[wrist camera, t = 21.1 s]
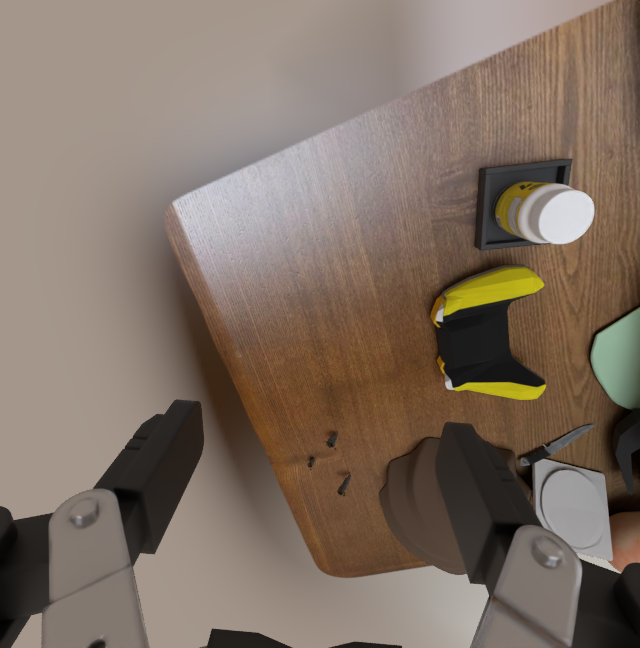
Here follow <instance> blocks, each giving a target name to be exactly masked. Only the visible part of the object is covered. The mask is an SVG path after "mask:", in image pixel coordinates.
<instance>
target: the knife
mask: <svg viewBox="0 0 640 648" xmlns="http://www.w3.org/2000/svg"><path fill="white" fill-rule="evenodd" d="M594 426H596V425H587V426H583V427H580V428H578V429H576V430H574V431H572V432H571V433H569V434H567V435H566V436H564V437H562V438H561V439H559V440H557V441H555V442H553V443H551V445H550V446H549V447H546V446H545V445H544V444H542V445H544V446H545V449H543V450H541V451H539V450H537V449H536V450H537V453H536V454H532V455H530V456H529V457H526V458H521V464H520V465H521V466H526V465H531V464H534V463H536V462H538V461H540V460H542V459H544V458H545V457H547V456H549V455H551V454H554V452H556V451H558V450H560V449H561V448H563V447H565V446H566V445H568V444H569V443H571V442H572V441H574V440H575V439H577V438H578V437H580V436H581V435H582V434H584V433H585V432H587V431H588V430H590V429H591V428H593V427H594ZM554 455H556V454H554ZM523 460H524V461H525V464H523Z"/></svg>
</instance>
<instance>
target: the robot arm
mask: <svg viewBox="0 0 640 648" xmlns="http://www.w3.org/2000/svg"><path fill="white" fill-rule="evenodd" d="M203 445H204V433H203V421H202V409H201V403H200V402H199V401H187V400H175V401H174V402H173V403H172V404H171V406H170V407H169V409H168V410H167V412H166V413H165V414H164V415H163V414H156V415H155V416H153V417H152V418H151V419H149V420H147V421H146V422H144V423H143V424H142V425H141V426H140V428H139V429H138V430H137V431H136V433H135V434H134V436H133V438H132V439H130V441H129V442H128V443H127V445H126V446H125V449H123V450H122V451H121V453H120V454H119V455H118V456H117V458H116V459H115V460H114V462H113V463H112V464H111V466H110V467H109V468H108V469H107V471H106V472H105V473H104V475H103V476H102V477H101V479H100V480H99V481H98V483H97V484H96V485H95V486H94V488H93V489H91V490H87V491H84V492H81V493H79V494H76V495H75V496H73V497H71V498H69V499H68V500H66V501H65V502H64V503H62V504H61V505H60V507H58V508H57V509H56V511H55V512H54V513H50V514H45V515H40V516H35V517H30V518H24V519H18V520H13V518H12V515H11V513H10V511H9V510H8V509H6V508H4V507H1V506H0V648H11V646H12V645H13V643H14V642H15V640H16V639H17V637H18V635H19V634H20V632H21V630H22V629H23V627H24V626H25V624H26V623H27V621H28V620H29V618H30V616H31V615H34V614H38V613H42V648H150V647H149V642H148V637H147V633H146V628H145V623H144V618H143V614H142V609H141V604H140V599H139V595H138V590H137V585H136V580H135V576H134V571H133V566H134V564H135V562H136V560H137V558H138V556H139V554H140V553H146V554H155V552H156V550H157V548H158V546H159V544H160V542H161V540H162V538H163V535H164V533H165V531H166V529H167V527H168V525H169V523H170V521H171V519H172V516H173V514H174V512H175V510H176V508H177V506H178V504H179V502H180V500H181V497H182V495H183V493H184V491H185V489H186V487H187V485H188V483H189V481H190V478H191V476H192V474H193V472H194V470H195V468H196V466H197V463H198V462H199V459H200V457H201V454H202V450H203ZM435 472H436V478H437V481H438V484H439V487H440V491H441V494H442V497H443V500H444V503H445V506H446V509H447V512H448V516H449V519H450V522H451V525H452V528H453V531H454V534H455V537H456V541H457V544H458V547H459V550H460V553H461V556H462V559H463V562H464V566H465V569H466V572H467V575H468V578H469V581H470V583H473V584H484V585H486V588H487V590H488V593H489V598H488V600H487V603H486V605H485V608H484V611H483V614H482V616H481V619H480V622H479V625H478V627H477V630H476V633H475V635H474V638H473V641H472V644H471V647H470V648H640V563H637V562H635V563H630V564H628V565H627V566H626V567H625V568H624V569H623V571H622V573H621V574H619V573H616V572H614V571H611V570H608V569H606V568H603V567H600V566H597V565H595V564H592V563H589V562H587V561H584V560H582V559H580V558H578V556H577V554H576V552H575V551H574V550H573V548H572V547H571V546H570V545H569V544H568V543H567V542H566V541H565V540H563V539H562V538H561V537H560V536H558V535H557V534H555V533H553V532H552V531H550V530H548V529H545V528H544V527H543V525H542V523H541V522H540V520H539V518H538V516H537V515H536V513H535V511H534V510H533V508H532V506H531V504H530V503H529V501H528V499H527V497H526V496H525V494H524V492H523V490H522V489H521V487H520V485H519V483H517V482H516V478H515V476H514V475H513V473H512V471H510V468H509V466H508V464H507V463H506V461H505V459H504V457H503V456H502V454H501V453H500V452H499V451H498V450H497V449H496V448H494V447H493V446H492V445H491V444H490V443H489V442H486V441H480V439H479V437H478V435H477V433H476V431H475V429H474V427H473V426H472V425H471V424H465V423H453V422H446V423H445V425H444V428H443V431H442V435H441V439H440V443H439V447H438V451H437V455H436V460H435ZM200 648H292V647H290V646H287V645H285V644H283V643H280V642H278V641H276V640H273V639H271V638H269V637H266V636H264V635H262V634H259V633H253V632H243V631H231V630H220V629H212V631H211V634H210V638H209V642H208V645H207V646H205V647H200ZM331 648H402V646H397V645H387V644H376V643H365V642H364V643H363V642H351V643H347V644H343V645H339V646H334V647H331Z"/></svg>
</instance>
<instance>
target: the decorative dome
mask: <svg viewBox="0 0 640 648" xmlns="http://www.w3.org/2000/svg"><path fill="white" fill-rule="evenodd" d="M478 437H479V436H478ZM479 439H480V441H484V440H483V439H482V438H480V437H479ZM439 443H440V439H434V438H426V439H424V440H423V441H422V442H421V443H420V444H419V446H418V447H417V448H416V449H415V450H414V451H413V452H412V453H411V454H409V455H406V456H404V457H401V458H398V459H396V460H393V461H391V462H390V463H389V468H388V482H387V484H386V485H385V486H384V488H383V489H382V491H381V492H380V494H379V495H380V501H381V505H382V509H383V512H384V515H385V518H386V521H387V523H388V525H389V527H390V529H391V531H392V533H393V534H394V536H395V537H396V538H397V540H398V541H399V542H400V543H401V544H402V545H403V546H404V547H405V548H406V549H407V550H408V551H409V552H410V553H412V554H413V555H414V556H416V557H417V558H419V559H421V560H422V561H424V562H426V563H428V564H431V565H433V566H435V567H437V568H439V569H441V570H443V571H446V572H448V573H451V574H455V575H463V574H467V572H466V569H465V566H464V562H463V559H462V556H461V553H460V550H459V547H458V544H457V541H456V537H455V534H454V531H453V528H452V525H451V522H450V519H449V516H448V512H447V509H446V506H445V503H444V500H443V497H442V494H441V491H440V487H439V484H438V481H437V478H436V472H435V460H436V455H437V451H438V447H439ZM496 449H497V450H498V451H499V452H500V453H501V454H502V456H503V457H504V459H505V461H506V463H507V464H508V466H509V468H510V471H512V473H513V475H514V476H515V478H516V482H517V483H519V485H520V487H521V489H522V490H523V492H524V494H525V496H526V497H527V499H528V501H529V499H530V496H531V489H530V487H529V486H528V485H527V484H526V482H525V481H524V480H523V479H522V478H521V477H520V476H519V475H518V474H517V472H516V469H515V454H514V453H513V452H512V451H507V450H503V449H498V448H496Z"/></svg>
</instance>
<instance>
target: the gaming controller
mask: <svg viewBox="0 0 640 648" xmlns="http://www.w3.org/2000/svg"><path fill="white" fill-rule="evenodd" d="M542 287H544V284H543V282H542V280H541V279H540V278H539V277H538V276H537V275H536V274H535V272H534V271H533V270H531V269H530V268H528V267H526V266H525V265H502V266H499V267H496V268H493V269H490V270H488V271H485V272H482V273H479V274H476V275H473V276H470V277H468V278H466V279H464V280H462V281H460V282H458V283H457V284H455V285H453V286H451V287H449V288H447V289H446V290H445V291H444V292H442V295H440V296H439V297H438V298H437V299H436V301H435V304H434V306H433V309H432V311H431V315H430V318H431V319H432V321H433V322H434V324H435V329H436V336H437V343H438V349H439V357H438V359H437V362H438V364H439V366H440V368H441V370H442V372H443V374H444V375H445V385H446V388H447V389H449V390H456V391H461V390H471V391H476V392H481V393H487V394H492V395H497V396H502V397H508V398H513V399H518V400H527V399H537V398H538V397H539V396H540V395H541V394H542V393H543V392H544V390H545V388H546V384H545V381H544V379H543V378H542V377H541V376H539V375H538V374H536V373H535V372H534V371H532V370H531V369H529V368H528V367H526V366H525V365H523V364H522V363H521V362H520V361H518V360H517V359H516V358H514V357H513V356H512V355H511V353H510V348H509V333H508V317H507V310H508V306H509V305H510V303H511V302H512V301H515V300H517V299H520V298H523V297H525V296H528V295H530V294H533V293H535V292H536V291H538V290H539V289H541V288H542Z"/></svg>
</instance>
